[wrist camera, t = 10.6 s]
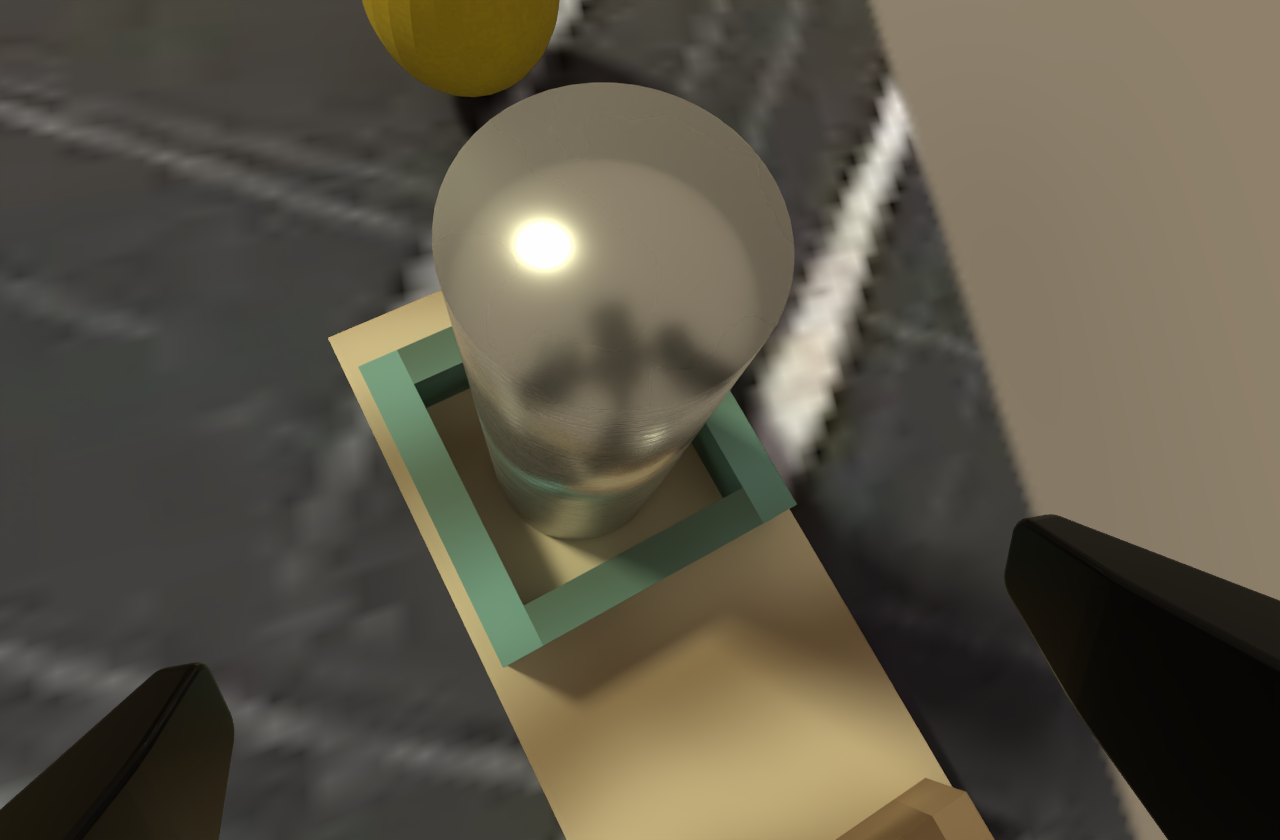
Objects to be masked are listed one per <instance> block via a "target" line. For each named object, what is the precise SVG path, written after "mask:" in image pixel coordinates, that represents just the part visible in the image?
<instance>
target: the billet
mask: <svg viewBox="0 0 1280 840" xmlns="http://www.w3.org/2000/svg"><path fill="white" fill-rule="evenodd" d="M432 247H433V257H434V262H435V268H436V273H437V277H438V280H439V284H440V287H441V290H442V294H443V297H444V301H445V304H446V307H447V311H448V314H449V318H450V321H451V324H452V328H453V331H454V335H455V338H456V341H457V345H458V348H459V352H460V355H461V358H462V362H463V365H464V369H465V372H466V375H467V379H468V382H469V386H470V389H471V392H472V396H473V399H474V403H475V406H476V409H477V413H478V416H479V420H480V423H481V426H482V430H483V433H484V437H485V440H486V443H487V447H488V450H489V454H490V457H491V460H492V464H493V467H494V471H495V474H496V477H497V481H498V484H499V487H500V490H501V492H502V494H503V496H504V498H505V500H506V501H507V503H508V504H509V506H510V507H511V509H512V510H513V511H514V512H515V513H516V514H517V516H518V517H519V518H521V519H522V520H523V521H524V522H525V523H526V524H528V525H529V526H531V527H532V528H534V529H535V530H537V531H539V532H542V533H544V534H546V535H549V536H552V537H555V538H559V539H565V540H590V539H594V538H599V537H602V536H605V535H607V534H610V533H612V532H614V531H616V530H618V529H620V528H621V527H623V526H624V525H626V524H627V523H628V522H630V521H631V520H632V519H633V518H634V517H635V516H636V515H637V514H638V513H639V511H640V510H641V509H642V508H643V507H644V505H645V504H646V503H647V501H648V500H649V498H650V497H651V496H652V494H653V493H654V492H655V490H656V489H657V488H658V486H659V485H660V484H661V482H662V481H663V480H664V478H665V477H666V476H667V474H668V473H669V472H670V470H671V469H672V467H673V466H674V465H675V463H676V462H677V461H678V459H679V458H680V457H681V455H682V454H683V453H684V451H685V450H686V449H687V447H688V446H689V445H690V443H691V442H692V441H693V439H694V438H695V436H696V435H697V434H698V432H699V431H700V430H701V428H702V427H703V426H704V424H705V423H706V422H707V420H708V419H709V418H710V416H711V415H712V414H713V412H714V411H715V410H716V408H717V407H718V405H719V404H720V403H721V401H722V400H723V399H724V397H725V396H726V395H727V393H728V392H729V391H730V389H731V388H732V387H733V385H734V384H735V383H736V381H737V380H738V379H739V377H740V376H741V374H742V373H743V372H744V370H745V369H746V368H747V366H748V365H749V364H750V362H751V361H752V360H753V358H754V357H755V356H756V354H757V353H758V352H759V350H760V349H761V348H762V346H763V345H764V343H765V342H766V341H767V339H768V338H769V336H770V334H771V333H772V331H773V330H774V328H775V326H776V325H777V323H778V321H779V319H780V316H781V314H782V312H783V310H784V307H785V305H786V303H787V299H788V295H789V291H790V288H791V284H792V277H793V269H794V239H793V233H792V227H791V221H790V218H789V214H788V211H787V208H786V205H785V202H784V199H783V197H782V195H781V192H780V190H779V188H778V186H777V184H776V182H775V180H774V178H773V177H772V175H771V173H770V172H769V170H768V169H767V167H766V165H765V164H764V162H763V161H762V160H761V159H760V158H759V156H758V155H757V154H756V153H755V151H754V150H753V149H752V148H751V146H750V145H749V144H748V143H747V142H746V141H744V140H743V139H742V138H741V137H740V136H739V135H738V134H737V133H736V132H735V131H734V130H733V129H731V128H730V127H729V126H728V125H726V124H725V123H724V122H722V121H721V120H720V119H719V118H717V117H715V116H714V115H712V114H711V113H709V112H707V111H706V110H704V109H702V108H701V107H699V106H697V105H695V104H693V103H690V102H688V101H686V100H684V99H682V98H680V97H677V96H674V95H671V94H668V93H665V92H662V91H660V90H656V89H652V88H647V87H642V86H638V85H631V84H622V83H584V84H575V85H568V86H563V87H559V88H555V89H550V90H547V91H544V92H541V93H539V94H536V95H533V96H530V97H527V98H525V99H523V100H522V101H520V102H518V103H516V104H514V105H512V106H510V107H508V108H506V109H505V110H503V111H502V112H500V113H499V114H497V115H496V116H495V117H493V118H492V119H490V120H489V121H488V122H487V123H486V124H485V125H483V126H482V127H481V128H480V129H479V130H478V131H477V132H476V133H474V135H473V136H472V137H471V138H470V139H469V140H468V142H467V143H466V144H465V145H464V146H463V147H462V149H461V150H460V151H459V153H458V154H457V156H456V158H455V159H454V161H453V162H452V164H451V166H450V167H449V169H448V171H447V174H446V176H445V178H444V180H443V183H442V185H441V187H440V190H439V194H438V198H437V201H436V205H435V209H434V217H433V226H432Z"/></svg>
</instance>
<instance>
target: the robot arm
mask: <svg viewBox="0 0 1280 840" xmlns="http://www.w3.org/2000/svg"><path fill="white" fill-rule="evenodd" d="M1004 577H1005V585H1006V589H1007V592H1008V594H1009V596H1010V598H1011V600H1012V601H1013V603H1014V605H1015V607H1016V608H1017V610H1018V612H1019V614H1020V615H1021V617H1022V619H1023V621H1024V622H1025V624H1026V626H1027V627H1028V629H1029V631H1030V633H1031V634H1032V636H1033V638H1034V640H1035V641H1036V643H1037V645H1038V647H1039V648H1040V650H1041V652H1042V653H1043V655H1044V657H1045V659H1046V660H1047V662H1048V664H1049V666H1050V667H1051V669H1052V671H1053V673H1054V674H1055V676H1056V678H1057V680H1058V681H1059V683H1060V685H1061V686H1062V688H1063V690H1064V691H1065V693H1066V695H1067V696H1068V698H1069V700H1070V701H1071V703H1072V704H1073V706H1074V708H1075V709H1076V711H1077V712H1078V714H1079V715H1080V717H1081V718H1082V719H1083V721H1084V722H1085V724H1086V725H1087V727H1088V728H1089V730H1090V731H1091V733H1092V734H1093V735H1094V737H1095V738H1096V740H1097V741H1098V742H1099V744H1100V745H1101V747H1102V748H1103V749H1104V751H1105V752H1106V754H1107V755H1108V756H1109V758H1110V759H1111V761H1112V762H1113V763H1114V765H1115V766H1116V768H1117V769H1118V770H1119V772H1120V773H1121V775H1122V776H1123V777H1124V779H1125V780H1126V782H1127V783H1128V784H1129V786H1130V787H1131V789H1132V790H1133V791H1134V793H1135V794H1136V796H1137V797H1138V798H1139V800H1140V801H1141V803H1142V804H1143V805H1144V807H1145V808H1146V810H1147V811H1148V812H1149V814H1150V815H1151V817H1152V818H1153V819H1154V821H1155V822H1156V824H1157V825H1158V826H1159V828H1160V829H1161V831H1162V832H1163V833H1164V835H1165V836H1166V838H1167V839H1168V840H1280V601H1279V600H1277V599H1274V598H1271V597H1269V596H1266V595H1264V594H1261V593H1258V592H1256V591H1253V590H1250V589H1248V588H1245V587H1243V586H1240V585H1237V584H1235V583H1232V582H1230V581H1227V580H1225V579H1222V578H1219V577H1216V576H1214V575H1211V574H1209V573H1206V572H1204V571H1201V570H1199V569H1196V568H1193V567H1191V566H1188V565H1186V564H1183V563H1180V562H1178V561H1175V560H1173V559H1170V558H1167V557H1165V556H1162V555H1160V554H1157V553H1154V552H1151V551H1149V550H1147V549H1144V548H1141V547H1139V546H1136V545H1133V544H1131V543H1128V542H1126V541H1123V540H1120V539H1118V538H1115V537H1113V536H1110V535H1107V534H1105V533H1102V532H1100V531H1097V530H1094V529H1092V528H1089V527H1087V526H1084V525H1081V524H1079V523H1076V522H1073V521H1071V520H1068V519H1066V518H1063V517H1061V516H1058V515H1052V514H1049V515H1042V516H1036V517H1030V518H1025V519H1022V520H1020V521H1019V522H1018V523H1017V524H1016V525H1015V527H1014V530H1013V534H1012V539H1011V544H1010V548H1009V553H1008V558H1007V563H1006V568H1005V574H1004ZM233 742H234V724H233V719H232V716H231V713H230V711H229V709H228V707H227V705H226V702H225V700H224V698H223V696H222V694H221V692H220V689H219V687H218V685H217V683H216V681H215V679H214V676H213V674H212V672H211V671H210V669H209V668H208V667H207V666H206V665H205V664H203V663H190V664H184V665H179V666H173V667H167V668H164V669H161V670H159V671H157V672H156V673H154V674H153V675H152V676H150V677H149V678H148V679H147V680H146V681H145V682H144V683H143V684H141V685H140V686H139V687H138V688H137V689H136V690H135V691H134V692H132V693H131V694H130V695H129V696H128V697H127V698H126V699H125V700H123V701H122V702H121V703H120V704H119V705H118V706H117V707H116V708H114V709H113V710H112V711H111V712H110V713H109V714H108V715H107V716H105V717H104V718H103V719H102V720H101V721H100V722H99V723H97V724H96V725H95V726H94V727H93V728H92V729H91V730H90V731H88V732H87V733H86V734H85V735H84V736H83V737H82V738H81V739H79V740H78V741H77V742H76V743H75V744H74V745H73V746H72V747H70V748H69V749H68V750H67V751H66V752H65V753H64V754H63V755H61V756H60V757H59V758H58V759H57V760H56V761H55V762H54V763H52V764H51V765H50V766H49V767H48V768H47V769H46V770H45V771H43V772H42V773H41V774H40V775H39V776H38V777H37V778H35V779H34V780H33V781H32V782H31V783H30V784H29V785H28V786H26V787H25V788H24V789H23V790H22V791H21V792H20V793H19V794H17V795H16V796H15V797H14V798H13V799H12V800H11V801H10V802H8V803H7V804H6V805H5V806H4V807H3V808H2V809H1V810H0V840H218V839H219V833H220V826H221V820H222V813H223V807H224V801H225V794H226V788H227V781H228V775H229V768H230V762H231V755H232V749H233Z"/></svg>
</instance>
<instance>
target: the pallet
mask: <svg viewBox="0 0 1280 840" xmlns="http://www.w3.org/2000/svg"><path fill="white" fill-rule="evenodd" d="M328 339H329V341H330V343H331V345H332V347H333V349H334V352H335V354H336V356H337V358H338V360H339V362H340V364H341V366H342V368H343V370H344V373H345V375H346V377H347V379H348V381H349V383H350V385H351V387H352V389H353V391H354V394H355V396H356V398H357V400H358V402H359V404H360V406H361V408H362V410H363V413H364V415H365V417H366V419H367V421H368V423H369V425H370V427H371V429H372V431H373V434H374V436H375V438H376V440H377V442H378V444H379V446H380V448H381V450H382V452H383V455H384V457H385V459H386V461H387V463H388V465H389V467H390V469H391V471H392V473H393V476H394V478H395V480H396V482H397V484H398V486H399V488H400V490H401V492H402V494H403V497H404V499H405V501H406V503H407V505H408V507H409V509H410V511H411V513H412V516H413V518H414V520H415V522H416V524H417V526H418V528H419V530H420V532H421V534H422V537H423V539H424V541H425V543H426V545H427V547H428V549H429V551H430V553H431V555H432V558H433V560H434V562H435V564H436V566H437V568H438V570H439V572H440V574H441V576H442V579H443V581H444V583H445V585H446V587H447V589H448V591H449V593H450V595H451V597H452V600H453V602H454V604H455V606H456V608H457V610H458V612H459V614H460V616H461V619H462V621H463V623H464V625H465V627H466V629H467V631H468V633H469V635H470V637H471V640H472V642H473V644H474V646H475V648H476V650H477V652H478V654H479V656H480V658H481V661H482V663H483V665H484V667H485V669H486V671H487V673H488V675H489V677H490V679H491V682H492V684H493V686H494V688H495V690H496V692H497V694H498V696H499V698H500V701H501V703H502V705H503V707H504V709H505V711H506V713H507V715H508V717H509V719H510V722H511V724H512V726H513V728H514V730H515V732H516V734H517V736H518V738H519V740H520V743H521V745H522V747H523V749H524V751H525V753H526V755H527V757H528V759H529V761H530V764H531V766H532V768H533V770H534V772H535V774H536V776H537V778H538V780H539V782H540V785H541V787H542V789H543V791H544V793H545V795H546V797H547V799H548V801H549V804H550V806H551V808H552V810H553V812H554V814H555V816H556V818H557V820H558V822H559V825H560V827H561V829H562V831H563V833H564V835H565V837H566V839H567V840H994V838H993V836H992V835H991V833H990V831H989V830H988V828H987V826H986V824H985V823H984V821H983V819H982V818H981V816H980V814H979V813H978V811H977V809H976V807H975V806H974V804H973V802H972V801H971V799H970V797H969V796H968V794H967V792H965V791H962V790H959V789H956V788H953V787H952V786H951V784H950V782H949V780H948V779H947V777H946V775H945V774H944V772H943V770H942V769H941V767H940V765H939V763H938V762H937V760H936V758H935V757H934V755H933V753H932V751H931V750H930V748H929V746H928V745H927V743H926V741H925V739H924V738H923V736H922V734H921V733H920V731H919V729H918V728H917V726H916V724H915V722H914V721H913V719H912V717H911V716H910V714H909V712H908V710H907V709H906V707H905V705H904V704H903V702H902V700H901V699H900V697H899V695H898V693H897V692H896V690H895V688H894V687H893V685H892V683H891V681H890V680H889V678H888V676H887V675H886V673H885V671H884V670H883V668H882V666H881V664H880V663H879V661H878V659H877V658H876V656H875V654H874V652H873V651H872V649H871V647H870V646H869V644H868V642H867V640H866V639H865V637H864V635H863V634H862V632H861V630H860V629H859V627H858V625H857V623H856V622H855V620H854V618H853V617H852V615H851V613H850V611H849V610H848V608H847V606H846V605H845V603H844V601H843V600H842V598H841V596H840V594H839V593H838V591H837V589H836V588H835V586H834V584H833V582H832V581H831V579H830V577H829V576H828V574H827V572H826V570H825V569H824V567H823V565H822V564H821V562H820V560H819V559H818V557H817V555H816V553H815V552H814V550H813V548H812V547H811V545H810V543H809V541H808V540H807V538H806V536H805V535H804V533H803V531H802V530H801V528H800V526H799V524H798V523H797V521H796V519H795V518H794V516H793V514H792V512H791V511H790V508H792V507H794V506H795V505H797V503H796V502H795V500H794V498H793V497H792V495H791V493H790V492H789V490H788V488H787V486H786V485H785V483H784V481H783V480H782V478H781V476H780V475H779V473H778V471H777V469H776V468H775V466H774V464H773V463H772V461H771V459H770V458H769V456H768V454H767V452H766V451H765V449H764V447H763V446H762V444H761V442H760V441H759V439H758V437H757V435H756V434H755V432H754V430H753V429H752V427H751V425H750V424H749V422H748V420H747V419H746V417H745V415H744V413H743V412H742V410H741V408H740V407H739V405H738V403H737V402H736V400H735V398H734V396H733V395H732V393H731V391H729V392H728V393H727V395H726V396H725V397H724V399H723V400H722V401H721V403H720V404H719V405H718V407H717V408H716V410H715V411H714V412H713V414H712V415H711V416H710V418H709V419H708V420H707V422H706V423H705V424H704V426H703V427H702V428H701V430H700V431H699V432H698V434H697V435H696V436H695V438H694V439H693V441H692V442H691V443H690V445H689V446H688V447H687V449H686V450H685V451H684V453H683V454H682V455H681V457H680V458H679V459H678V461H677V462H676V463H675V465H674V466H673V467H672V469H671V470H670V472H669V473H668V474H667V476H666V477H665V478H664V480H663V481H662V482H661V484H660V485H659V486H658V488H657V489H656V490H655V492H654V493H653V494H652V496H651V497H650V498H649V500H648V501H647V503H646V504H645V505H644V507H643V508H642V509H641V510H640V511H639V513H638V514H637V515H636V516H635V517H634V518H633V519H632V520H631V521H630V522H628V523H627V524H626V525H624V526H623V527H621V528H620V529H618V530H616V531H614V532H612V533H610V534H607V535H605V536H602V537H599V538H594V539H590V540H565V539H559V538H555V537H552V536H549V535H546V534H544V533H542V532H539V531H537V530H535V529H534V528H532V527H531V526H529V525H528V524H526V523H525V522H524V521H523V520H522V519H521V518H519V517H518V516H517V514H516V513H515V512H514V511H513V510H512V509H511V507H510V506H509V504H508V503H507V501H506V500H505V498H504V496H503V494H502V492H501V490H500V487H499V484H498V481H497V477H496V474H495V471H494V467H493V464H492V460H491V457H490V454H489V450H488V447H487V443H486V440H485V437H484V433H483V430H482V426H481V423H480V420H479V416H478V413H477V409H476V406H475V403H474V399H473V396H472V392H471V389H470V386H469V382H468V379H467V375H466V372H465V369H464V365H463V362H462V358H461V355H460V352H459V348H458V345H457V341H456V338H455V335H454V331H453V328H452V324H451V321H450V318H449V314H448V311H447V307H446V304H445V301H444V297H443V294H442V290H441V291H438V292H436V293H434V294H431V295H429V296H427V297H424V298H422V299H419V300H417V301H415V302H412V303H410V304H408V305H405V306H403V307H400V308H398V309H396V310H393V311H391V312H389V313H386V314H384V315H381V316H379V317H377V318H374V319H372V320H370V321H367V322H365V323H362V324H360V325H358V326H355V327H353V328H351V329H348V330H346V331H343V332H341V333H339V334H336V335H334V336H332V337H329V338H328Z"/></svg>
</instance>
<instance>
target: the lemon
mask: <svg viewBox="0 0 1280 840" xmlns="http://www.w3.org/2000/svg"><path fill="white" fill-rule="evenodd" d="M362 2H363V5H364V8H365V11H366V14H367V16H368V19H369V21H370V23H371V25H372V27H373V29H374V30H375V32H376V34H377V35H378V37H379V38H380V40H381V41H382V43H383V44H384V46H385V47H386V49H387V50H388V52H389V53H390V55H391V56H392V57H393V58H394V60H395V61H396V62H397V63H398V64H399V65H401V66H402V67H403V68H404V69H405V70H406V71H407V72H408V73H409V74H411V75H412V76H413V77H414V78H416V79H417V80H419V81H420V82H422V83H424V84H426V85H428V86H429V87H431V88H433V89H435V90H438V91H441V92H445V93H448V94H452V95H455V96H465V97H479V96H486V95H492V94H494V93H497V92H500V91H502V90H505V89H507V88H509V87H511V86H512V85H514V84H515V83H517V82H518V81H520V80H521V79H523V78H524V77H525V76H526V75H527V74H528V73H529V72H530V71H531V69H532V68H533V67H534V66H535V65H536V64H537V63H538V61H539V60H540V59H541V57H542V55H543V54H544V52H545V50H546V47H547V45H548V43H549V41H550V38H551V36H552V34H553V31H554V28H555V25H556V21H557V15H558V9H559V0H362Z"/></svg>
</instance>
